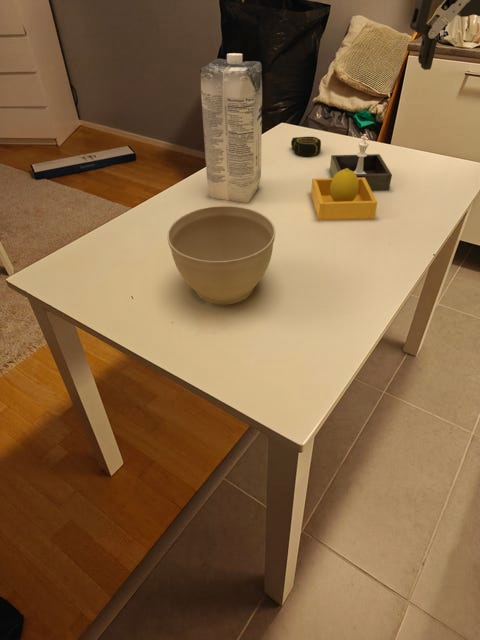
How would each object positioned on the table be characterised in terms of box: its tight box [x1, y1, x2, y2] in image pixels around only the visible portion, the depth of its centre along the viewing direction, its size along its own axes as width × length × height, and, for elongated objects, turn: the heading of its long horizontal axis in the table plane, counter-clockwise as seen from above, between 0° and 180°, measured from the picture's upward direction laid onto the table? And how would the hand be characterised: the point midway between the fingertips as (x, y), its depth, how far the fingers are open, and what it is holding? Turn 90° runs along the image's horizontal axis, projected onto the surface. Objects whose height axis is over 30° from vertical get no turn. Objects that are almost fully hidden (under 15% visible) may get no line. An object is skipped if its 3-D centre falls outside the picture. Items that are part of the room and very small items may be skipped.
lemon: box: [330, 168, 358, 202], centre depth 92 cm, size 6×6×8 cm
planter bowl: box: [166, 205, 276, 305], centre depth 72 cm, size 16×16×11 cm
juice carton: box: [199, 52, 263, 204], centre depth 92 cm, size 9×10×27 cm
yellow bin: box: [310, 177, 378, 221], centre depth 94 cm, size 11×11×4 cm
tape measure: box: [290, 136, 322, 157], centre depth 115 cm, size 7×7×4 cm
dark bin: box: [329, 153, 393, 192], centre depth 103 cm, size 11×11×4 cm
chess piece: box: [354, 133, 369, 174], centre depth 101 cm, size 5×5×10 cm
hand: (456, 67), depth 63 cm, fingers open, 8 cm apart
